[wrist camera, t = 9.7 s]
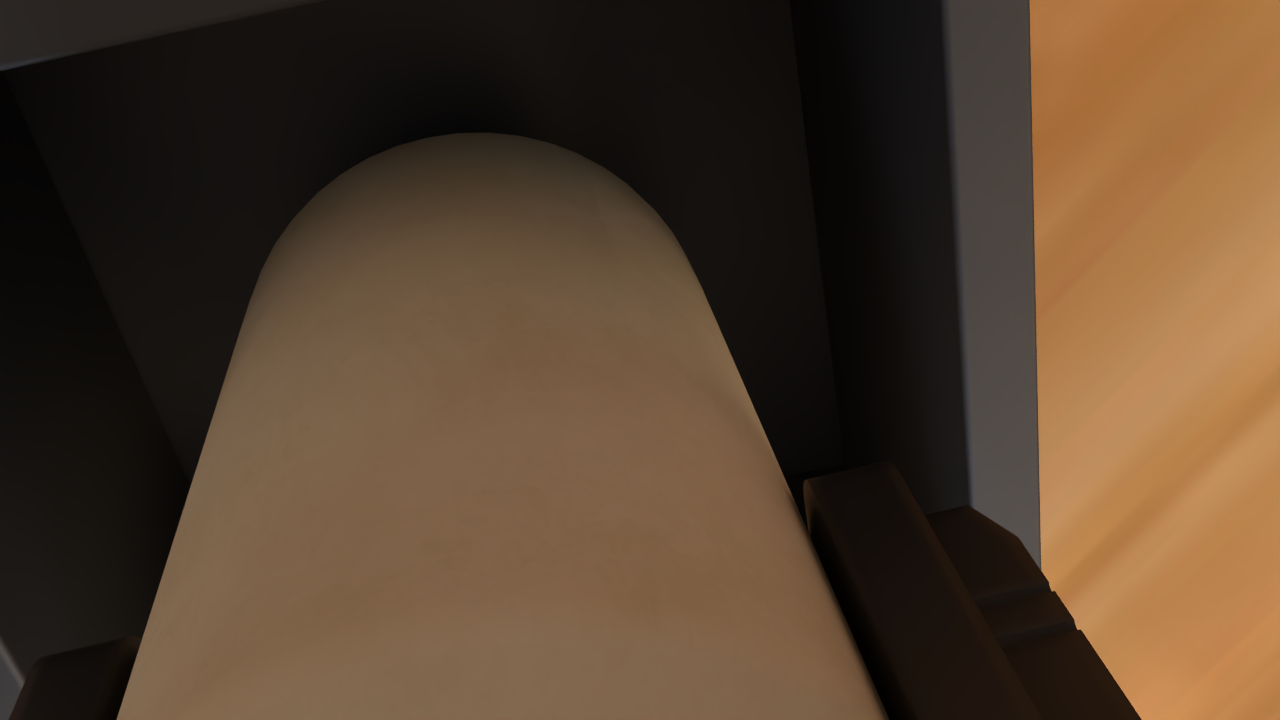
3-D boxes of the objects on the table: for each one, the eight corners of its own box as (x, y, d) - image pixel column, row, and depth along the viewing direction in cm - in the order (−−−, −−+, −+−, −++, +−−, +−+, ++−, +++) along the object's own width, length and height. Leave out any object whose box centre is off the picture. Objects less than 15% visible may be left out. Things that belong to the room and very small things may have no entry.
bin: (-108, -85, 15) (-466, 60, 9) (804, -278, 15) (1027, -260, 9) (220, 618, 21) (130, 986, 15) (879, 464, 21) (1047, 763, 15)
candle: (187, 442, 15) (-155, 1447, 6) (351, 42, 13) (175, 726, 4) (581, 570, 17) (726, 1490, 8) (779, 237, 15) (1246, 991, 6)
